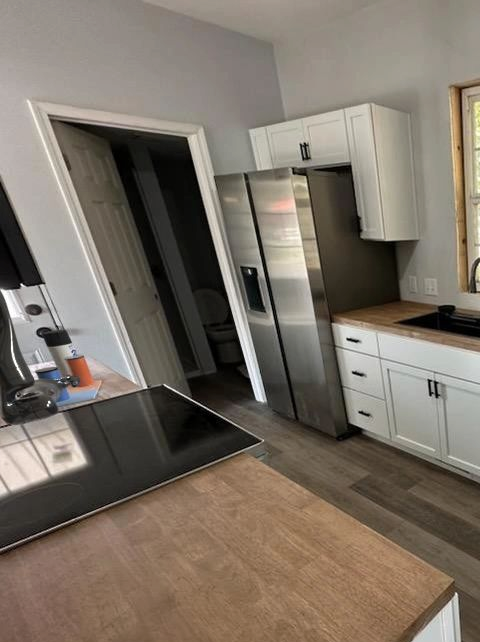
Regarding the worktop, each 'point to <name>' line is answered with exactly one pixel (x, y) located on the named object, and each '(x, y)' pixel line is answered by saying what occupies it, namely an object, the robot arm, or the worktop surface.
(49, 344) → the spray can
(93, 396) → the sorting board
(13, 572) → the worktop surface
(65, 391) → the blue canister
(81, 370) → the terracotta canister
